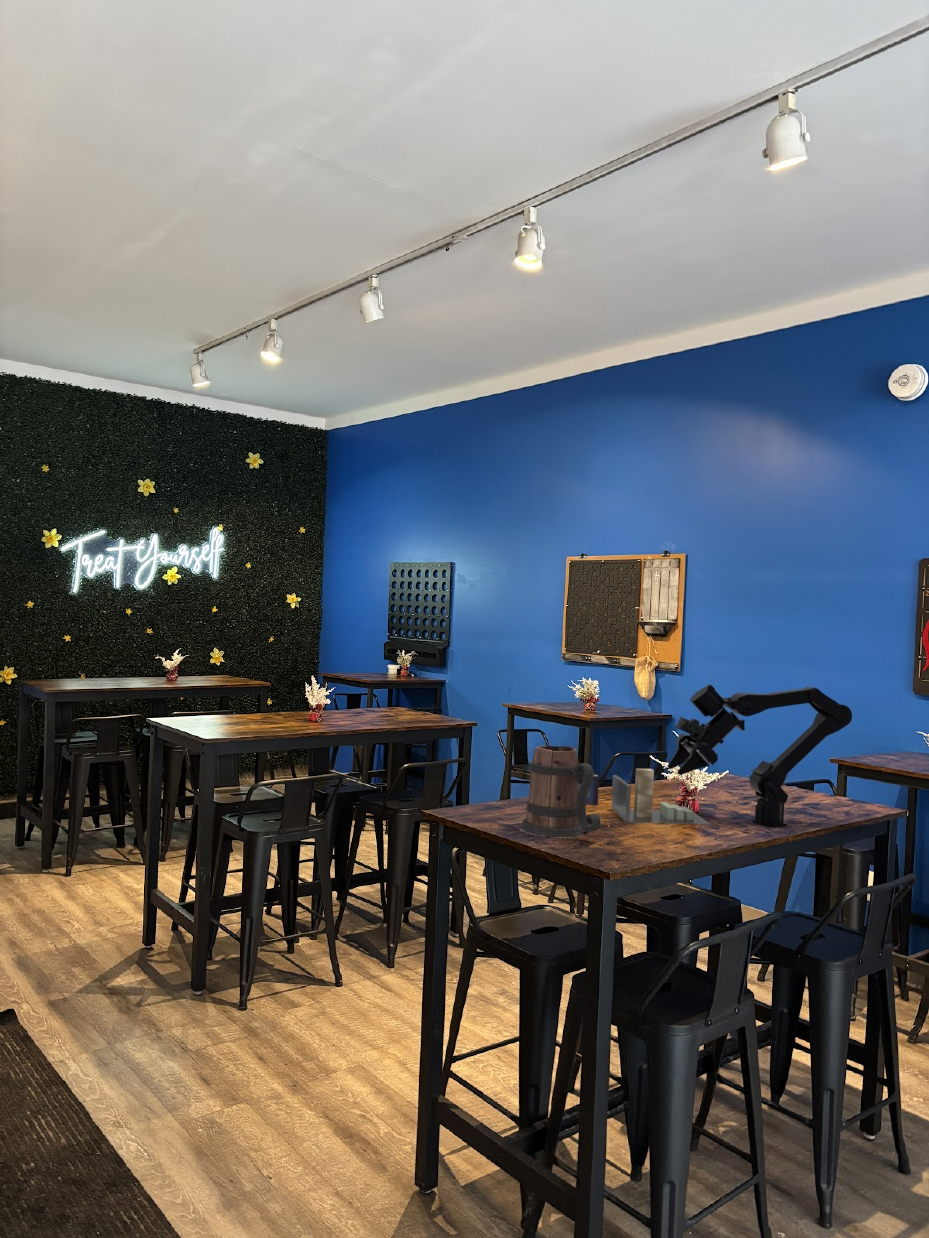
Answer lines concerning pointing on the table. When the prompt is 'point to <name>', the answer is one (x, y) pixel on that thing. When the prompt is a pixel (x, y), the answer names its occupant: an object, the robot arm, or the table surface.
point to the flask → (592, 791)
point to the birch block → (643, 792)
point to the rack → (622, 808)
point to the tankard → (559, 794)
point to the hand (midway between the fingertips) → (673, 770)
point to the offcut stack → (675, 812)
